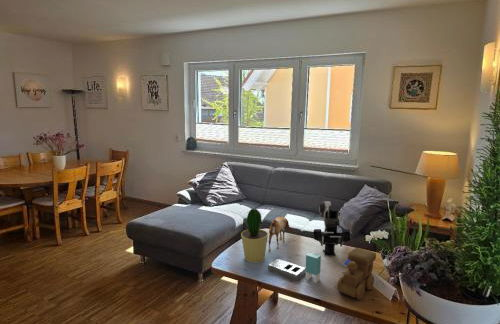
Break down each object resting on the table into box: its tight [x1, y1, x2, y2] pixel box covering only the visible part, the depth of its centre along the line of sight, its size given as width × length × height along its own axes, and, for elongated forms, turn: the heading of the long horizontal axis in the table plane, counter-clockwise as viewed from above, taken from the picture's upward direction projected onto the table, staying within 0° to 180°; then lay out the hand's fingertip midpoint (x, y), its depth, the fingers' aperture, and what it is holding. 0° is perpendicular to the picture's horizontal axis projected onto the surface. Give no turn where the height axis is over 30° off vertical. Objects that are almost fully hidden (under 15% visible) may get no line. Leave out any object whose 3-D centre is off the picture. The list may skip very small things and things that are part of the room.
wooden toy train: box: [336, 247, 377, 301], centre depth 147 cm, size 20×11×17 cm, turn 137°
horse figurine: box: [268, 216, 293, 253], centre depth 197 cm, size 31×8×21 cm, turn 152°
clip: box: [305, 252, 322, 284], centre depth 157 cm, size 4×6×13 cm, turn 52°
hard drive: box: [342, 258, 350, 268], centre depth 174 cm, size 2×8×12 cm
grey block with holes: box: [267, 258, 306, 281], centre depth 166 cm, size 9×18×3 cm, turn 52°
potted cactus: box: [240, 208, 269, 263], centre depth 179 cm, size 15×15×30 cm
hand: (331, 246), depth 159 cm, fingers open, 9 cm apart
